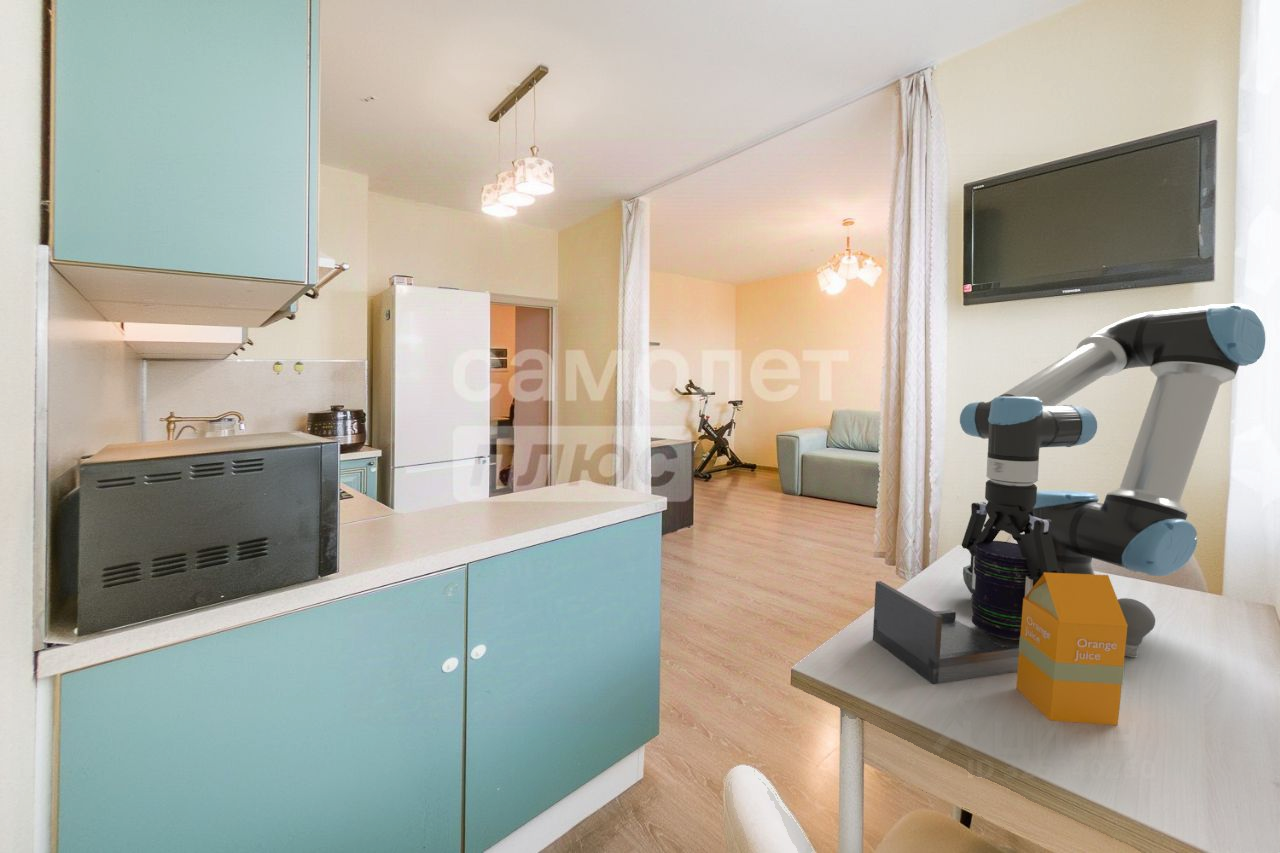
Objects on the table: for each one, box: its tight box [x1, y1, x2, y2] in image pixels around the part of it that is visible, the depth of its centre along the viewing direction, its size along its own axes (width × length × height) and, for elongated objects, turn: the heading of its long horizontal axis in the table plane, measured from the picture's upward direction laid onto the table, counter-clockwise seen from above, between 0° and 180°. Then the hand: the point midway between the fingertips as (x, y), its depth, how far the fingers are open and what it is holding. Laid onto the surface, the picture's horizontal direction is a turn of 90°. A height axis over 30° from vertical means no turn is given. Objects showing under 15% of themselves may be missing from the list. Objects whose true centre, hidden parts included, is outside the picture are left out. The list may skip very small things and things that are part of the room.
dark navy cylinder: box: [971, 540, 1031, 641], centre depth 93 cm, size 10×10×15 cm
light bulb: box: [1117, 597, 1156, 658], centre depth 87 cm, size 6×6×10 cm
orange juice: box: [1015, 572, 1128, 726], centre depth 73 cm, size 8×9×20 cm
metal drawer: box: [872, 580, 1019, 685], centre depth 87 cm, size 17×14×11 cm
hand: (1004, 599), depth 93 cm, fingers closed on dark navy cylinder, 10 cm apart
